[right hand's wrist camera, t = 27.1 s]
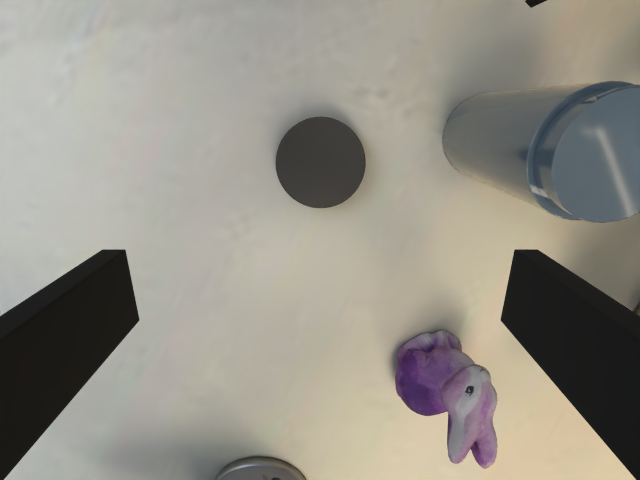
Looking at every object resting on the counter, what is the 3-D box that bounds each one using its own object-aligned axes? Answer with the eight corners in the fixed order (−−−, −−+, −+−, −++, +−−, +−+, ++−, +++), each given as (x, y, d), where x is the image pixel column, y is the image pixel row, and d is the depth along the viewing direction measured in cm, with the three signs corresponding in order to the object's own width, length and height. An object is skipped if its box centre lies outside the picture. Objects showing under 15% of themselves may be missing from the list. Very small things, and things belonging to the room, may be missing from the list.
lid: (297, 101, 38) (296, 101, 36) (377, 139, 39) (381, 141, 37) (265, 183, 40) (262, 187, 38) (341, 215, 42) (342, 221, 40)
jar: (531, 157, 40) (702, 197, 22) (454, 188, 41) (558, 249, 23) (513, 78, 37) (692, 50, 19) (432, 113, 38) (530, 118, 20)
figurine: (463, 318, 46) (526, 410, 32) (461, 381, 50) (517, 489, 36) (389, 324, 47) (420, 418, 33) (392, 387, 50) (421, 496, 36)
